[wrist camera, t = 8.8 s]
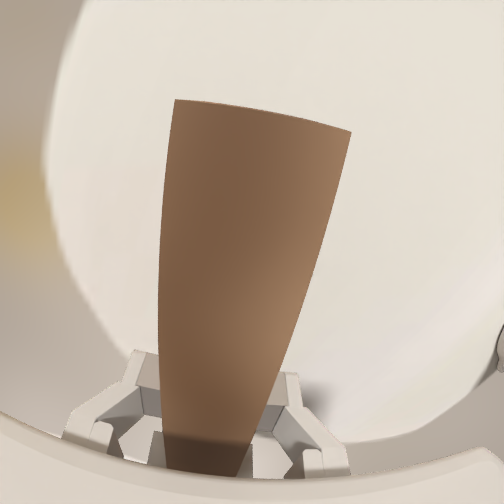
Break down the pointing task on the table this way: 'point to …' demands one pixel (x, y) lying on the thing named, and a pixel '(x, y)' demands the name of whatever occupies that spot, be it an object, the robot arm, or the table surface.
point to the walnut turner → (234, 271)
